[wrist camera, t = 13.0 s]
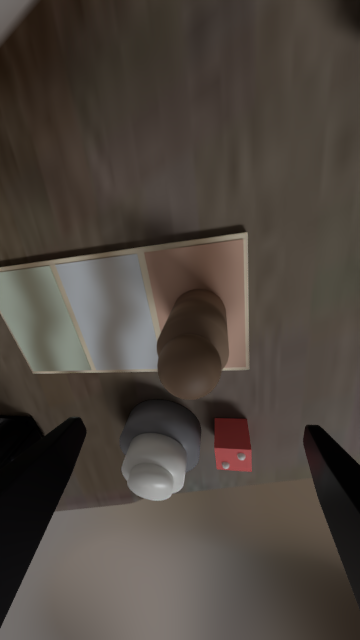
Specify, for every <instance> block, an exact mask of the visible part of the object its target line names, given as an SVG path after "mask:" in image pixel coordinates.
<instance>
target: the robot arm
mask: <svg viewBox="0 0 360 640" xmlns="http://www.w3.org/2000/svg"><path fill="white" fill-rule="evenodd" d="M85 436H86V427H85V425H84V423H83V421H82V419H81V418H80V417H70V418H68V419H67V420H65V421H64V422H63V423H61V424H60V425H59V426H57V427H56V428H55V429H54V430H52V431H51V432H50V433H48V434H47V435H46V436H44V437H43V435H42V433H41V432H40V430H39V429H38V427H37V425H36V424H35V422H34V421H33V419H32V418H31V417H21V416H0V628H1V626H2V623H3V621H4V619H5V617H6V615H7V613H8V610H9V608H10V606H11V604H12V602H13V600H14V598H15V595H16V593H17V591H18V589H19V587H20V585H21V582H22V580H23V578H24V576H25V574H26V572H27V569H28V567H29V565H30V563H31V561H32V559H33V556H34V554H35V552H36V550H37V548H38V546H39V543H40V541H41V539H42V537H43V535H44V533H45V530H46V528H47V526H48V524H49V522H50V520H51V518H52V515H53V513H54V511H55V509H56V507H57V505H58V502H59V500H60V498H61V496H62V494H63V492H64V489H65V487H66V485H67V483H68V481H69V479H70V476H71V474H72V472H73V469H74V467H75V464H76V461H77V458H78V456H79V453H80V450H81V447H82V445H83V442H84V439H85ZM303 443H304V448H305V452H306V456H307V459H308V463H309V467H310V470H311V474H312V478H313V482H314V485H315V489H316V492H317V496H318V499H319V502H320V505H321V507H322V510H323V513H324V515H325V518H326V521H327V523H328V526H329V529H330V531H331V534H332V537H333V539H334V542H335V545H336V547H337V550H338V553H339V555H340V558H341V561H342V563H343V566H344V568H345V571H346V574H347V577H348V579H349V582H350V585H351V587H352V590H353V593H354V595H355V598H356V601H357V603H358V606H359V609H360V465H359V464H358V463H357V462H356V461H355V460H354V459H353V458H352V457H351V456H350V455H349V454H348V453H347V452H346V451H345V450H344V449H343V448H342V447H341V446H340V445H339V444H338V443H337V442H336V441H335V440H334V439H333V438H332V437H331V436H330V435H329V434H328V433H327V432H326V431H325V430H324V429H323V428H321V427H320V426H319V425H306V426H305V431H304V438H303Z"/></svg>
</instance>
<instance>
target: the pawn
mask: <svg viewBox="0 0 360 640" xmlns="http://www.w3.org/2000/svg"><path fill="white" fill-rule="evenodd" d="M157 354H158V357H159V358H158V363H157V370H158V375H159V378H160V381H161V383H162V384H163V386H164V387H165V388H166V390H167V391H169V392H170V393H171V394H172V395H174V396H176V397H178V398H181V399H186V400H194V399H198V398H201V397H204V396H206V395H207V394H209V393H210V392H211V391H212V390H213V389H214V388H215V386H216V385H217V383H218V381H219V379H220V376H221V371H222V370H223V368H224V367H225V365H226V364H227V361H228V358H229V344H228V330H227V317H226V308H225V305H224V303H223V302H222V300H221V299H220V298H219V297H218V296H217V295H216V294H214V293H213V292H211V291H208V290H204V289H193V290H189V291H187V292H185V293H183V294H182V295H181V296H180V297H179V298H178V299H177V300H176V302H175V304H174V306H173V308H172V310H171V312H170V315H169V317H168V319H167V321H166V323H165V325H164V327H163V329H162V331H161V334H160V336H159V338H158V341H157Z"/></svg>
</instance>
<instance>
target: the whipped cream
mask: <svg viewBox="0 0 360 640" xmlns="http://www.w3.org/2000/svg"><path fill="white" fill-rule="evenodd" d="M186 462H187V453H186V451H185V449H184V448H183V446H182V445H181V444H180V443H178V442H177V441H176V440H174V439H172V438H170V437H168V436H165V435H162V434H157V433H144V434H140V435H138V436H136V437H135V438H133V439H132V441H131V443H130V446H129V448H128V451H127V454H126V456H125V459H124V462H123V464H122V468H121V470H122V474H123V476H124V477H125V479H126V480H127V484H128V487H129V488H130V490H131V491H132V492H134V493H135V494H137V495H138V496H140V497H143V498H145V499H149V500H156V501H160V500H165V499H168V498H169V497H170V496H171V495H172V493H175V492H178V491H179V490H180V489H181V488H182V487H183V485H184V478H185V470H186Z"/></svg>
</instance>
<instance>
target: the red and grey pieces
mask: <svg viewBox="0 0 360 640" xmlns="http://www.w3.org/2000/svg"><path fill="white" fill-rule="evenodd" d="M144 433H157V434H162V435H165V436H168V437H170V438H172V439H174V440H176V441H177V442H178V443H180V444H181V445H182V446H183V448H184V449H185V451H186V453H187V462H186V470H185V472H188V471H190V470H191V469H193V468H194V467H195V466H196V465H197V463H198V461H199V455H200V441H201V426H200V423H199V421H198V419H197V418H196V417H195V415H194V414H193V413H192V412H191V411H189V410H188V409H187V408H185V407H183V406H181V405H179V404H177V403H174V402H171V401H167V400H148V401H144V402H142V403H140V404H138V405H136V406H135V407H134V408H133V409H132V411H131V413H130V415H129V418H128V420H127V422H126V424H125V427H124V429H123V431H122V434H121V436H120V447H121V449H122V451H123V453H124V454H125V455H126V454H127V451H128V448H129V446H130V443H131V441H132V439H133V438H135V437H136V436H138V435H140V434H144ZM214 448H215V457H216V465H217V469H221V470H235V471H248V472H252V466H251V444H250V437H249V430H248V424H247V419H233V418H215V442H214Z"/></svg>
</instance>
